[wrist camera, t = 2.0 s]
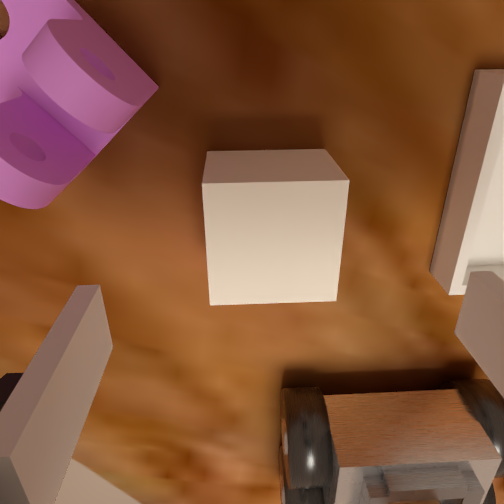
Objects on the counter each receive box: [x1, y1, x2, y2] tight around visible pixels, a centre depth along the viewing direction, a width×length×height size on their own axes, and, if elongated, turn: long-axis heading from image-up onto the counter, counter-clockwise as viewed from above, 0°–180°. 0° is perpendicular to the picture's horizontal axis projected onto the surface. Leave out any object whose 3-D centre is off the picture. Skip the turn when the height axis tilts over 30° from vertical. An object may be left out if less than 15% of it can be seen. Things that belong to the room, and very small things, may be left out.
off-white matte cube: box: [202, 149, 350, 305], centre depth 20 cm, size 6×6×5 cm
